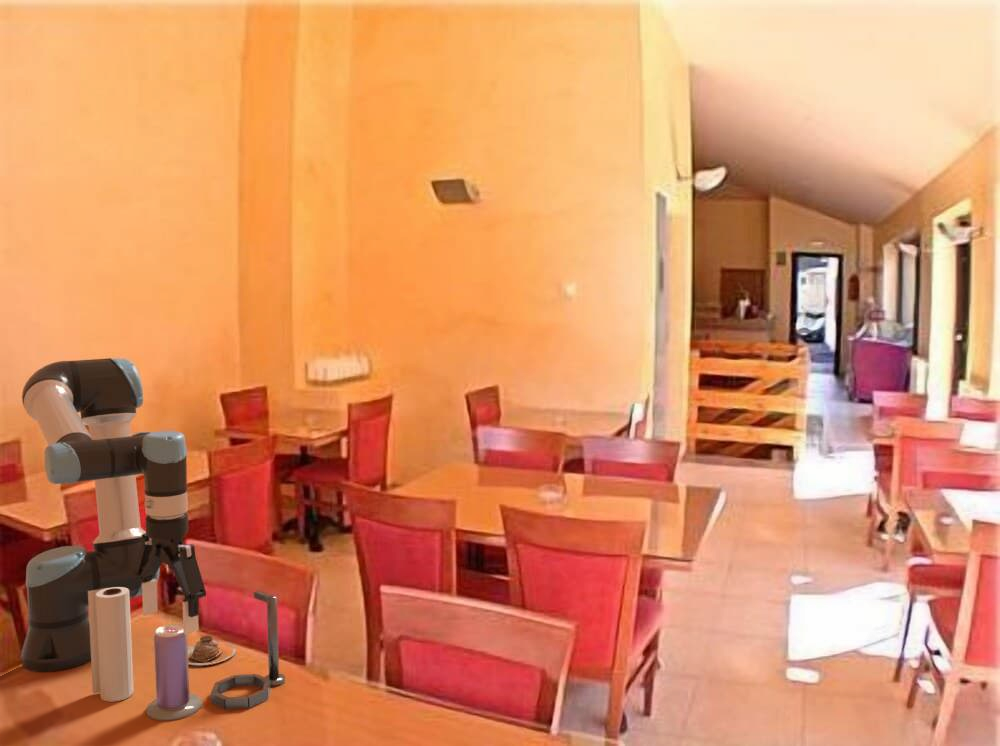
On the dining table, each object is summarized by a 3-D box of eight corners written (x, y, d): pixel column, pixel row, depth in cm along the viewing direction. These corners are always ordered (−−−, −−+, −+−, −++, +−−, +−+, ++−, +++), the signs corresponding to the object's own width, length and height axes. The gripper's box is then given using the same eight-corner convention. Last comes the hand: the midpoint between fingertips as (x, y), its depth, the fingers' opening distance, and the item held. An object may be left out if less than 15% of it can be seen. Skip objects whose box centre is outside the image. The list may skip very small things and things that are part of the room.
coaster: (135, 710, 174) (135, 706, 174) (182, 691, 182) (182, 688, 182) (165, 726, 168) (165, 722, 168) (212, 705, 176) (212, 702, 176)
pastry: (166, 661, 198) (165, 640, 197) (212, 642, 207) (211, 623, 207) (202, 674, 191) (201, 653, 190) (247, 654, 201) (246, 634, 200)
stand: (201, 698, 179) (198, 609, 177) (266, 671, 192) (263, 588, 190) (235, 714, 173) (232, 623, 171) (299, 685, 185) (297, 599, 183)
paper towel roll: (139, 695, 180) (134, 590, 178) (108, 705, 176) (103, 598, 174) (122, 684, 185) (118, 582, 183) (92, 694, 181) (87, 589, 179)
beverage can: (179, 713, 172) (176, 636, 170) (150, 710, 173) (147, 634, 171) (195, 699, 178) (193, 624, 176) (168, 696, 179) (165, 622, 177)
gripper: (112, 506, 176) (116, 612, 178) (187, 531, 161) (191, 646, 163) (148, 498, 182) (151, 600, 184) (224, 522, 166) (226, 633, 169)
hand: (170, 622), depth 174 cm, fingers open, 13 cm apart
